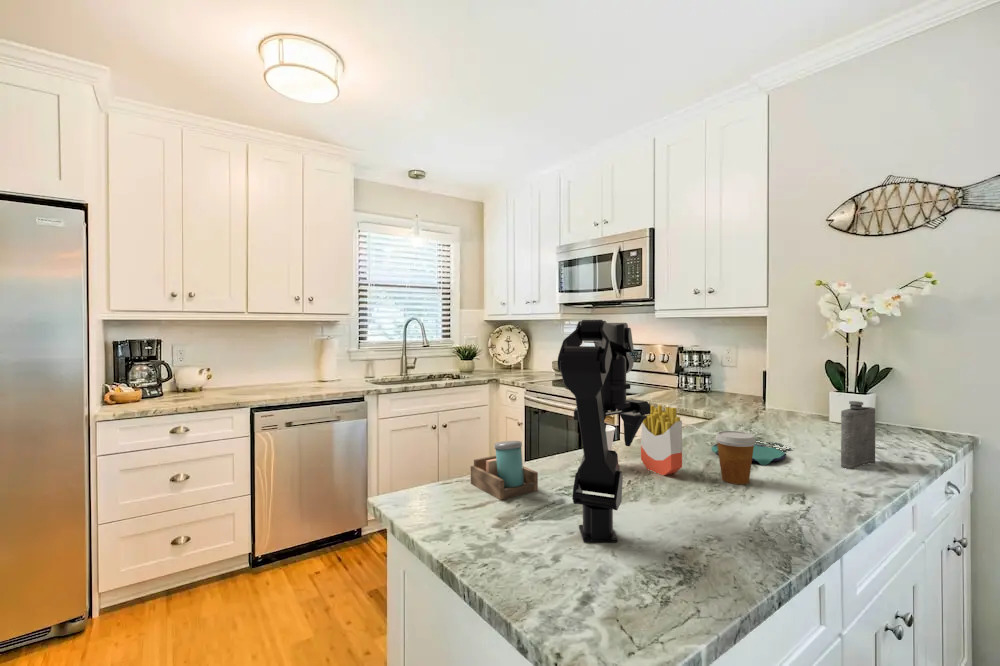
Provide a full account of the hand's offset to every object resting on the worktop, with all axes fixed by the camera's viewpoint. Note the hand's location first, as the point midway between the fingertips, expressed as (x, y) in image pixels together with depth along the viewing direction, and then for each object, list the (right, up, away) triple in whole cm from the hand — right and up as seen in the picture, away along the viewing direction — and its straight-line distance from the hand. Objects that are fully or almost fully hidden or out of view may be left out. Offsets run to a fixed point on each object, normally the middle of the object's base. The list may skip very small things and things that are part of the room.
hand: (613, 449), depth 105 cm
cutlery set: (+55, -12, +43) cm, 71 cm away
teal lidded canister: (-23, -11, +11) cm, 27 cm away
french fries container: (+19, -13, +25) cm, 34 cm away
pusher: (-25, -12, +15) cm, 31 cm away
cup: (+3, -13, +31) cm, 34 cm away
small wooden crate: (-25, -13, +15) cm, 32 cm away
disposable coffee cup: (+36, -13, +17) cm, 42 cm away
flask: (+77, -12, +30) cm, 83 cm away
